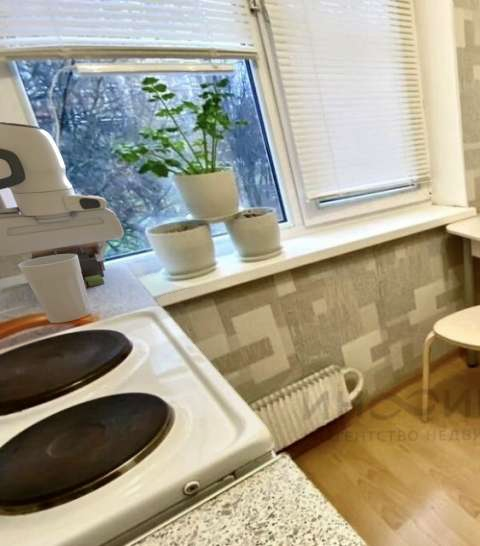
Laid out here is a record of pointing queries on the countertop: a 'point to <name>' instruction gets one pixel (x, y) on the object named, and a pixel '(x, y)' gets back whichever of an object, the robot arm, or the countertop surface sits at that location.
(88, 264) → the basket stand
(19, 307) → the countertop surface
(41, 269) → the cup
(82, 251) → the basket
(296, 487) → the countertop surface
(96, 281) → the packet right
